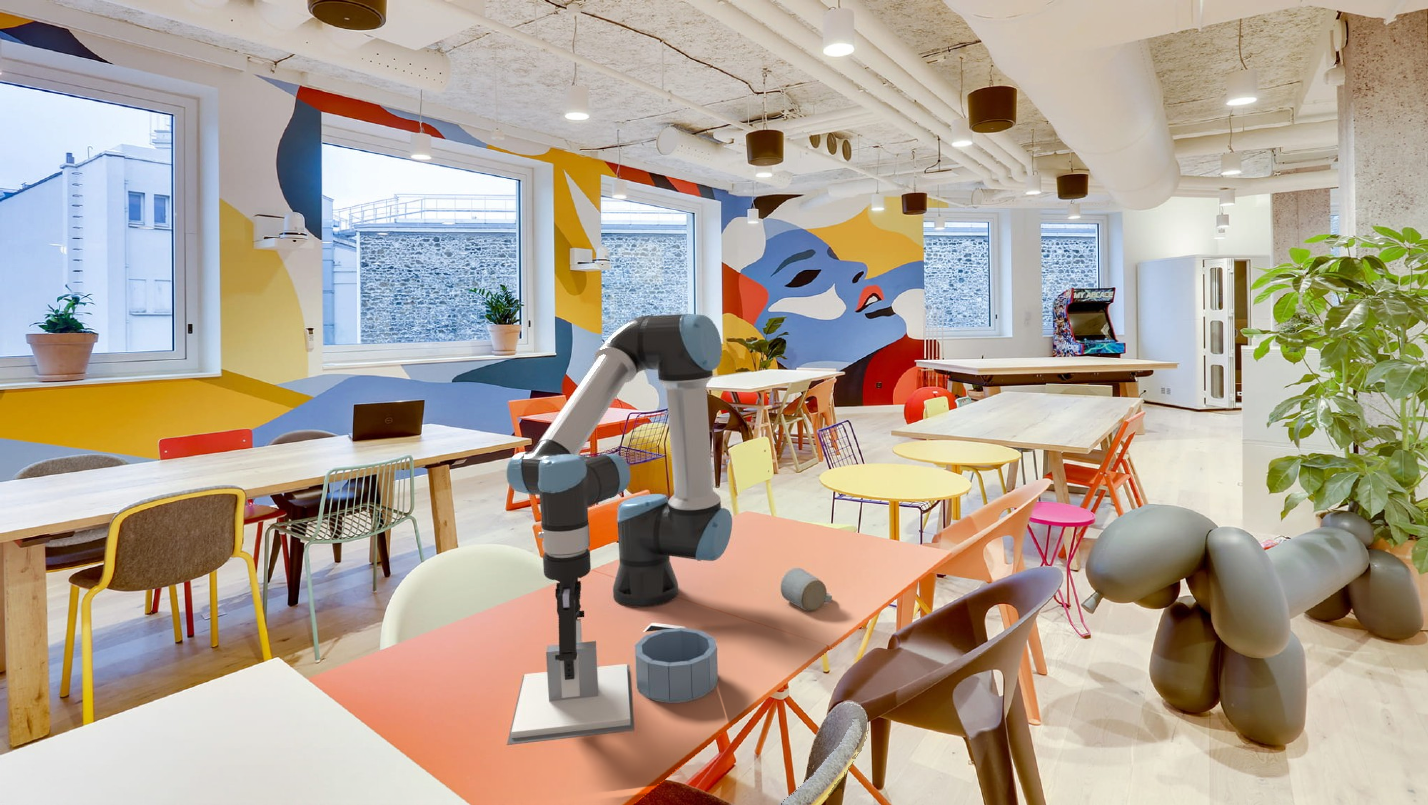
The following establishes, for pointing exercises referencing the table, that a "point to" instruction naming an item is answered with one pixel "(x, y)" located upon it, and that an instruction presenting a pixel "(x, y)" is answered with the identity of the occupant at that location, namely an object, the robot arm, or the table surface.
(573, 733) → the mat
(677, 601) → the table surface
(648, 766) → the table surface
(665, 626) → the cell phone
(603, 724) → the lid
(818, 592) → the ceramic mug
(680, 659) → the bowl
